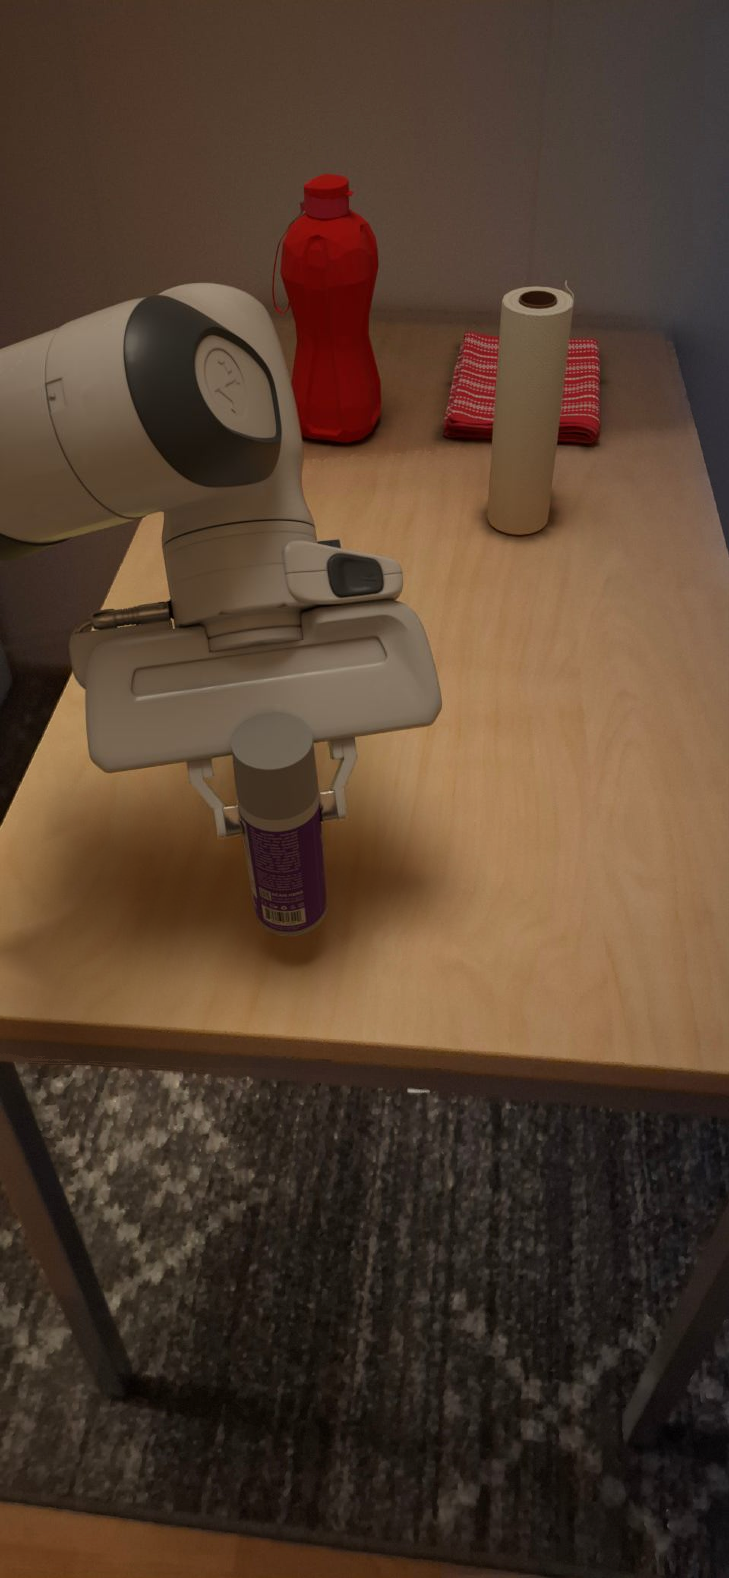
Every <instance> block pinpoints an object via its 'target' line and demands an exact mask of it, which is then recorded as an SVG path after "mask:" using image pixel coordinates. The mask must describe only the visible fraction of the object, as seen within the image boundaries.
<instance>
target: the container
mask: <svg viewBox="0 0 729 1578" xmlns="http://www.w3.org/2000/svg"><path fill="white" fill-rule="evenodd" d="M231 751H232V755H231V759H232V767H233V774H234V775H233V776H234V783H235V791H236V800H237V804H238V809H239V813H240V819H239V820H240V822H241V824H242V828H243V835H242V841H243V846H244V852H245V858H246V859H245V860H246V865H247V872H248V878H249V884H250V885H249V886H250V890H251V896H252V897H251V898H252V902H253V910H254V913H255V917H256V920H257V921H258V923H259V924H260V926H262V928H263V929H264V930H266V931H267V932H269V933H271V934H273V935H277V936H281V937H296V936H301V935H304V934H306V933H309V932H311V931H313V930H314V929H316V927H318V926H319V925H320V924H321V923H322V921H323V920H324V918H325V916H326V913H327V910H328V897H327V896H328V895H327V883H326V882H327V881H326V867H325V853H324V839H323V826H322V825H323V823H322V822H321V809H320V807H321V806H320V797H319V792H320V790H319V789H320V788H319V779H318V772H317V761H316V753H315V743H314V742H313V735H312V731H311V729H310V728H309V726H308V725H307V724H306V723H305V722H304V721H303V720H301V719H300V718H298V717H296V716H294V715H291V714H287V713H281V712H269V713H263V714H259V715H256V716H253V717H251V718H249V719H247V720H245V721H244V722H243V723H241V724H240V725H239V726H238V727H237V728H236V730H235V731H234V733H233V735H232V738H231Z"/></svg>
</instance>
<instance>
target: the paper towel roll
mask: <svg viewBox="0 0 729 1578" xmlns="http://www.w3.org/2000/svg"><path fill="white" fill-rule="evenodd" d="M567 284H568V279H566V280H565V282H564V288H563V289H564V290H562V289H557V288H553V287H551V286H550V287H549V286H539V285H538V286H537V285H536V286H524V287H519V288H515V289H513V290H510V291H509V292H507V293H505V294H504V295H503V298H502V300H501V306H500V320H499V321H500V322H499V323H500V324H499V350H498V364H497V378H496V393H495V407H494V422H493V436H492V439H491V451H490V467H489V480H488V481H489V482H488V493H487V494H488V495H487V508H486V509H487V510H486V517H487V520H488V522H489V525H491V526H492V527H493V528H495V530H497V531H500V532H502V533H504V534H509V535H517V536H521V535H531V534H533V533H536V532H539V531H541V530H542V529H543V528H544V527H545V526H546V525H547V524H548V521H549V515H550V507H551V499H552V489H553V481H554V474H555V473H554V472H555V463H556V454H557V446H558V441H557V439H558V431H559V422H560V414H561V405H562V397H563V389H564V380H565V372H566V363H567V355H568V346H569V339H571V329H572V321H573V312H574V304H575V294H574V293H573V292H572V291H571V289H570V288H569V287H568V285H567Z"/></svg>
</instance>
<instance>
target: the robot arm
mask: <svg viewBox="0 0 729 1578" xmlns="http://www.w3.org/2000/svg"><path fill="white" fill-rule="evenodd" d="M291 380H292V379H291V376H290V373H289V369H288V365H287V361H286V358H285V355H284V350H283V348H282V345H281V342H280V338H279V336H278V333H277V330H276V327H275V325H274V322H273V320H272V318H271V316H270V313H269V311H268V310H267V309H266V307H265V306H264V304H263V303H262V302H260V301H259V300H258V299H257V298H255V296H253V295H251V294H250V293H248V292H246V291H244V290H241V289H239V288H237V287H235V286H230V285H227V284H222V283H217V282H205V281H204V282H190V283H189V282H188V283H183V284H178V285H176V286H172V287H169V288H167V289H165V290H163V291H162V292H160V293H157V294H153V295H150V296H147V297H138V298H134V299H133V298H132V299H129V300H126V301H122V302H120V303H117V304H114V305H112V306H107V307H105V308H103V309H100V310H97V311H93V312H91V313H89V314H86V315H84V316H81V317H78V318H75V319H73V320H70V321H67V322H66V323H63V324H62V325H61V326H59V327H57V328H53V329H51V330H48V331H45V332H43V333H39V334H37V335H35V336H32V337H29V338H26V339H24V340H21V341H18V342H16V343H13V344H10V345H8V346H5V347H3V348H0V562H11V561H17V560H20V559H23V558H26V557H29V556H31V555H34V554H37V553H39V552H41V551H44V550H46V549H49V548H51V547H54V546H57V545H59V544H62V543H65V542H67V541H68V540H70V539H72V538H74V537H78V536H81V535H86V534H88V533H93V532H96V531H100V530H104V529H108V528H111V527H115V526H119V525H122V524H126V523H129V522H133V521H137V520H140V519H144V518H146V517H147V516H149V515H153V514H157V513H163V525H162V530H161V531H162V532H161V549H162V555H163V561H164V567H165V568H164V569H165V574H166V580H167V587H168V593H169V599H168V600H166V601H158V602H151V603H150V602H149V603H144V604H139V605H137V606H136V605H135V606H131V607H130V606H129V607H126V608H117V609H115V608H104V609H100V610H96V611H93V612H91V613H90V618H87V619H85V620H83V621H82V622H80V623H79V624H78V625H77V626H75V628H74V629H73V631H72V633H71V634H70V637H69V642H68V651H69V658H70V665H71V671H72V674H73V677H74V679H75V681H76V682H77V684H78V685H79V686H80V687H81V688H83V690H85V693H84V694H85V695H84V703H85V704H84V705H85V706H84V707H85V729H86V740H87V741H86V742H87V750H88V756H89V758H90V761H91V762H92V763H93V765H95V766H96V767H97V768H98V769H100V770H101V771H102V772H104V773H106V774H114V773H122V772H128V771H134V770H135V771H137V770H142V769H148V768H155V767H161V766H162V767H163V766H168V765H176V764H181V763H186V767H187V775H188V780H189V783H190V785H191V786H192V787H193V788H194V789H195V791H196V792H197V793H198V794H199V796H200V797H201V798H202V799H203V801H204V802H205V803H206V804H207V805H208V807H209V809H211V810H213V815H214V822H215V827H216V828H215V829H216V834H217V839H218V840H222V839H229V838H235V837H240V836H243V828H242V824H241V822H240V813H239V809H238V803H236V804H229V805H225V803H224V802H223V801H222V799H221V798H220V797H219V796H218V794H217V793H216V792H215V791H214V790H213V788H212V787H211V786H210V784H209V783H208V782H207V781H206V780H210V779H213V778H214V777H215V771H214V765H213V759H215V758H222V757H229V756H232V751H231V738H232V735H233V733H234V731H235V730H236V728H237V727H238V726H239V725H240V724H241V723H243V722H244V721H245V720H247V719H249V718H251V717H253V716H256V715H259V714H263V713H269V712H281V713H287V714H291V715H294V716H296V717H298V718H300V719H301V720H303V721H304V722H305V723H306V724H307V725H308V726H309V728H310V729H311V731H312V735H313V742H314V744H316V743H325V742H327V747H328V751H329V752H328V753H329V758H330V760H332V761H337V760H339V762H338V765H337V767H336V770H335V773H334V775H333V778H332V781H331V783H330V786H329V789H327V790H321V791H320V790H319V797H320V809H321V823H322V824H323V823H330V822H336V821H337V822H338V821H343V820H348V816H347V814H348V813H347V805H346V800H345V799H346V798H345V793H344V789H346V787H347V785H348V783H349V779H350V777H351V775H352V772H353V770H354V767H355V765H356V762H357V759H358V751H357V744H356V738H359V737H366V736H372V735H379V734H386V733H387V734H388V733H393V732H399V731H407V730H413V729H420V728H428V727H430V726H433V724H434V723H435V722H436V721H437V719H438V717H439V715H440V714H441V712H442V708H443V698H442V692H441V686H440V682H439V676H438V672H437V667H436V663H435V659H434V656H433V651H432V649H431V646H430V642H429V639H428V636H427V632H426V629H425V627H424V624H423V622H422V620H421V619H420V617H419V616H418V614H417V613H416V612H415V611H414V609H413V608H411V606H409V605H407V604H406V603H404V602H401V601H400V600H398V598H399V597H400V596H401V594H402V592H403V588H404V574H403V570H402V569H403V568H402V566H401V564H400V563H399V561H398V560H396V559H395V558H393V557H388V556H385V555H380V554H374V553H367V552H362V551H357V550H352V549H346V548H342V547H341V548H336V547H331V546H327V545H322V544H318V542H317V541H318V536H317V530H316V524H315V520H314V517H313V514H312V513H311V510H310V508H309V506H308V503H307V501H306V498H305V494H304V488H303V469H304V461H305V449H304V448H305V447H304V442H303V436H302V435H301V429H300V423H299V418H298V412H297V407H296V402H295V398H294V393H293V389H292V384H291ZM90 627H92V629H93V630H87V631H85V630H86V629H88V628H90Z"/></svg>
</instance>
